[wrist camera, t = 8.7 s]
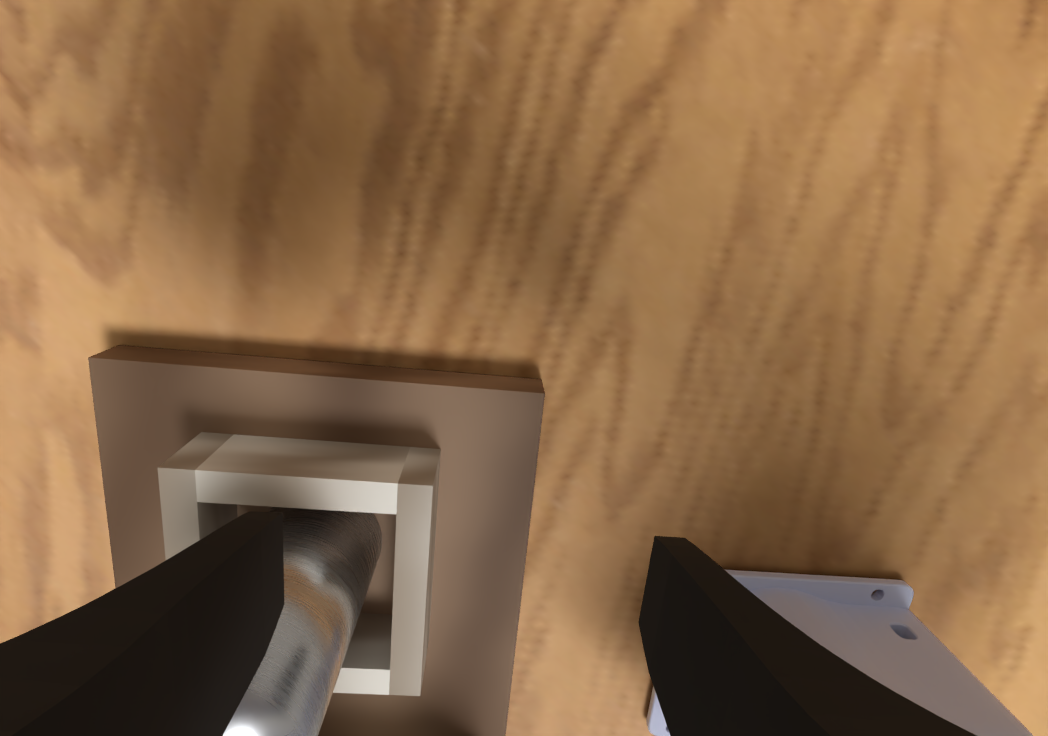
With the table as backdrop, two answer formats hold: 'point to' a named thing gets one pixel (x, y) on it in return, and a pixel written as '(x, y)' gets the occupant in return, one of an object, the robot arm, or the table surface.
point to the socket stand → (344, 505)
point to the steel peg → (310, 621)
